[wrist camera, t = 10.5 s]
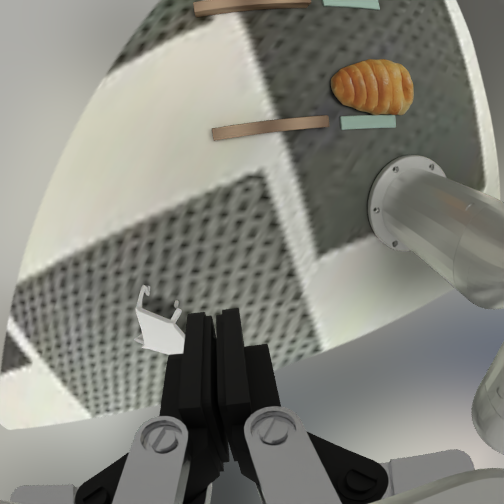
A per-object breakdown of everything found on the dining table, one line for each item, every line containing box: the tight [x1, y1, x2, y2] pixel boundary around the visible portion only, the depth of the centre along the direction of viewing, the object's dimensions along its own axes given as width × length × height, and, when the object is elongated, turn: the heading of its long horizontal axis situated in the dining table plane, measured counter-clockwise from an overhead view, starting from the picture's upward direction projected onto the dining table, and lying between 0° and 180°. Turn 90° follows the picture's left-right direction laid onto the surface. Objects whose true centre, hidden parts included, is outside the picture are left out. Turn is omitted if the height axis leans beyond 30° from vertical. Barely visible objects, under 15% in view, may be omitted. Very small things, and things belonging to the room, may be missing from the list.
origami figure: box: [134, 285, 185, 355], centre depth 39 cm, size 12×8×5 cm
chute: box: [193, 0, 329, 141], centre depth 29 cm, size 12×15×2 cm
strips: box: [322, 0, 396, 130], centre depth 30 cm, size 7×16×1 cm, turn 8°
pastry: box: [331, 59, 414, 115], centre depth 30 cm, size 9×7×4 cm
